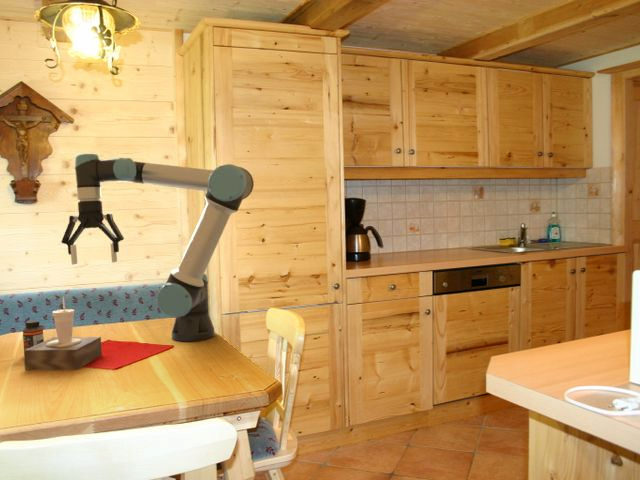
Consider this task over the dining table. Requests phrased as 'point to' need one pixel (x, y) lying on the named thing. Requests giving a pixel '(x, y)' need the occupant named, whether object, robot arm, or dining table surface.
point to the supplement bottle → (32, 334)
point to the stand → (62, 354)
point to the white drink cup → (64, 323)
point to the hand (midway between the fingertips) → (94, 263)
